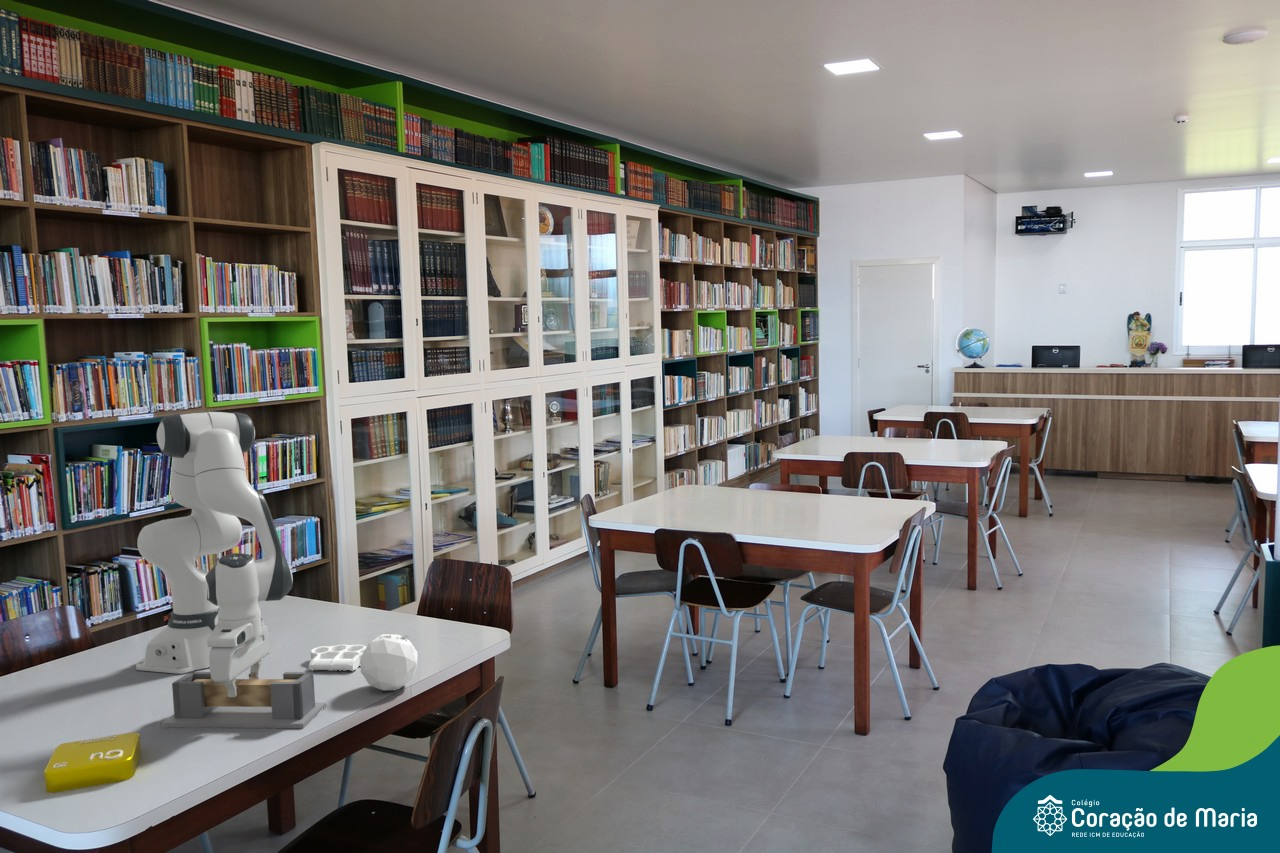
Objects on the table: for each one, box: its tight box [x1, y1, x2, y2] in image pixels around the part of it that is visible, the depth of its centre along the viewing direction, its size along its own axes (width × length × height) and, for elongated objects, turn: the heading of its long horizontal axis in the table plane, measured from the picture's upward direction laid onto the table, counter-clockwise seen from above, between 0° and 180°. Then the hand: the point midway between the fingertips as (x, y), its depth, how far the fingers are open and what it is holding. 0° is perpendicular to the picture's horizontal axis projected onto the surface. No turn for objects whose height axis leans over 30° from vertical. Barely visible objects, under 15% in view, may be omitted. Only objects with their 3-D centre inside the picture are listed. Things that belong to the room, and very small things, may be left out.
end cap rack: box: [161, 671, 327, 729], centre depth 214 cm, size 32×12×9 cm, turn 85°
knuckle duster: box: [308, 644, 368, 672], centre depth 248 cm, size 3×18×15 cm
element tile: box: [43, 732, 142, 794], centre depth 188 cm, size 15×15×5 cm
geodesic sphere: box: [360, 633, 419, 692], centre depth 229 cm, size 14×14×14 cm
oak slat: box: [193, 678, 298, 707], centre depth 214 cm, size 24×4×5 cm, turn 85°
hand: (244, 688), depth 213 cm, fingers open, 8 cm apart
